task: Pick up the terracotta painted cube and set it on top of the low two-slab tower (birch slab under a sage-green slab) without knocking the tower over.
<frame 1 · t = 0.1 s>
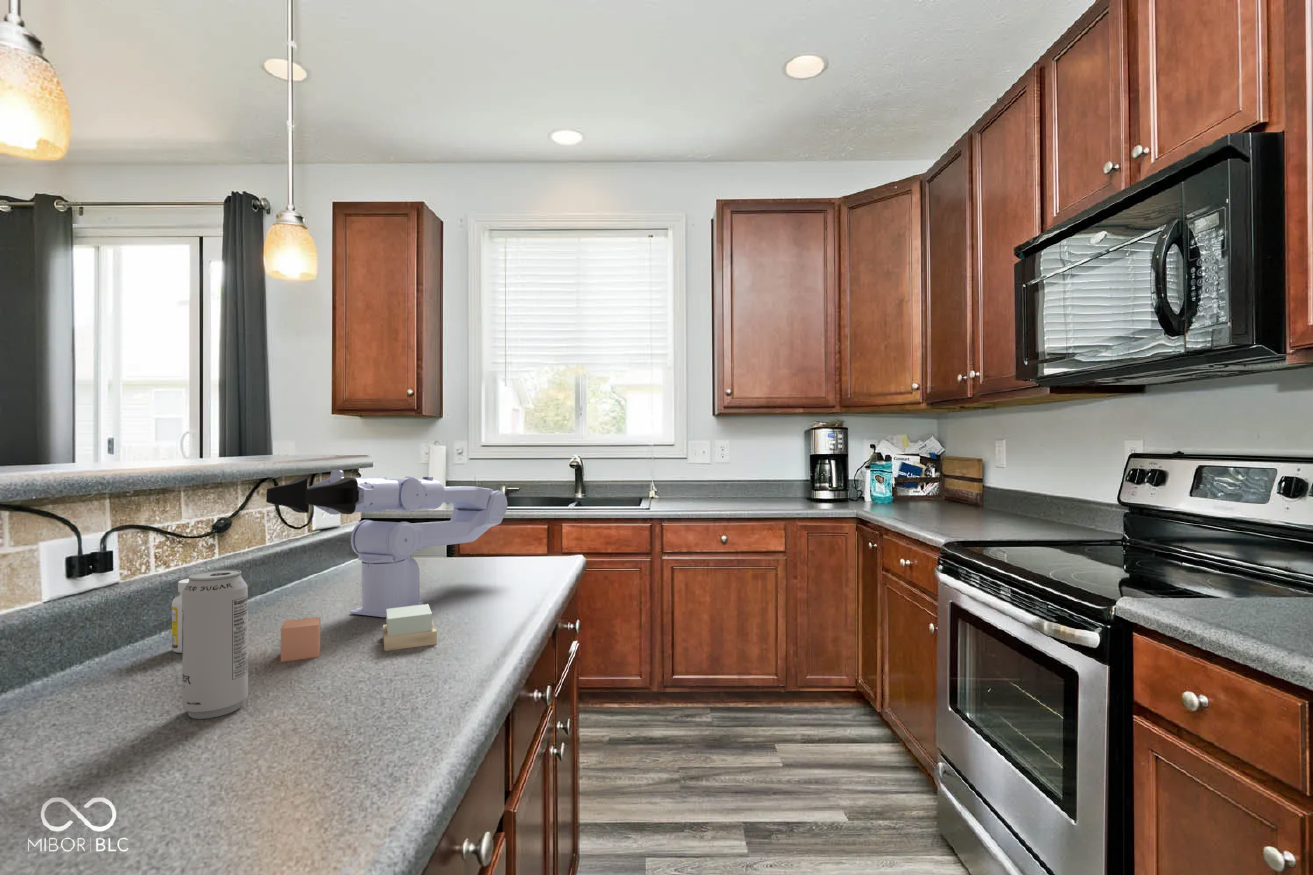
hand: (287, 495, 95), 22 cm above the countertop, tool horizontal, fingers open, 7 cm apart
tower base: (409, 644, 96), on the countertop, touching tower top
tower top: (409, 627, 96), point 2 cm above the countertop, touching tower base
terracotta cube: (301, 654, 90), on the countertop
energy drink can: (215, 710, 72), on the countertop
supplement bottle: (195, 649, 93), on the countertop
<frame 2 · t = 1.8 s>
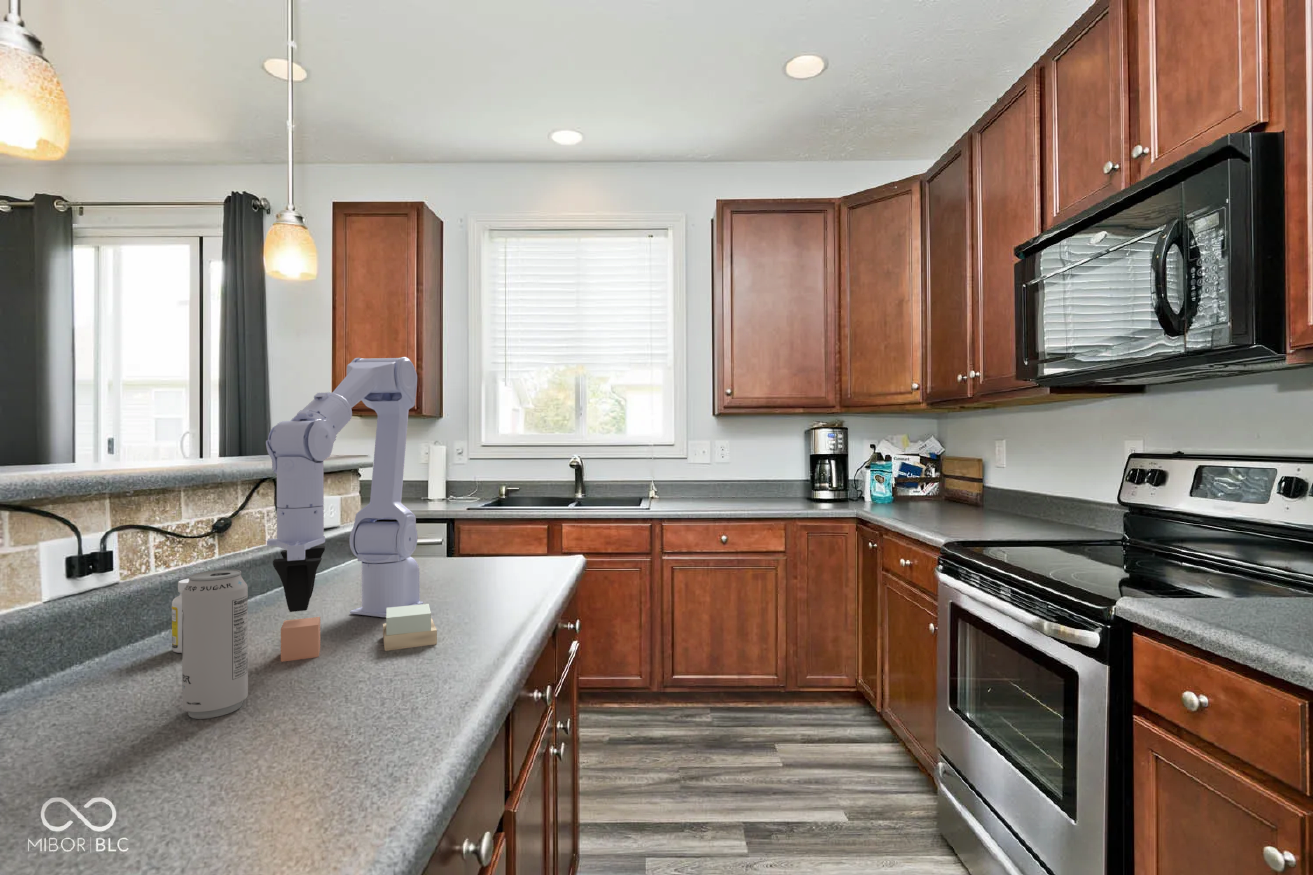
hand: (300, 604, 90), 7 cm above the countertop, tool pointing down, fingers open, 7 cm apart
tower base: (409, 643, 96), on the countertop
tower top: (408, 627, 96), point 2 cm above the countertop
everything else where it was.
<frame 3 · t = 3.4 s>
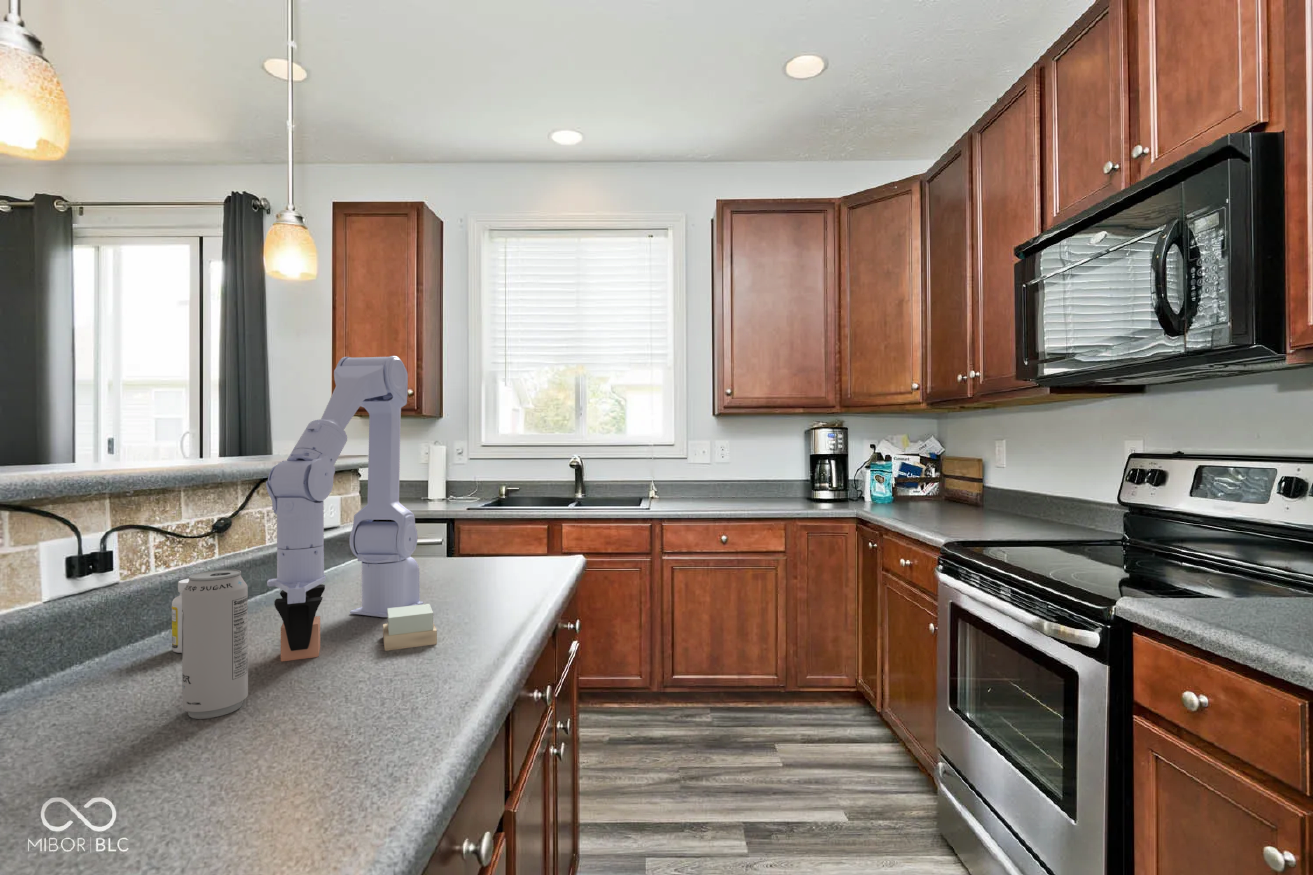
hand: (301, 643, 90), 1 cm above the countertop, tool pointing down, fingers closed on terracotta cube, 4 cm apart
tower base: (409, 643, 96), on the countertop, touching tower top
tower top: (410, 627, 96), point 2 cm above the countertop, touching tower base
terracotta cube: (301, 654, 90), on the countertop, touching gripper
everything else where it was.
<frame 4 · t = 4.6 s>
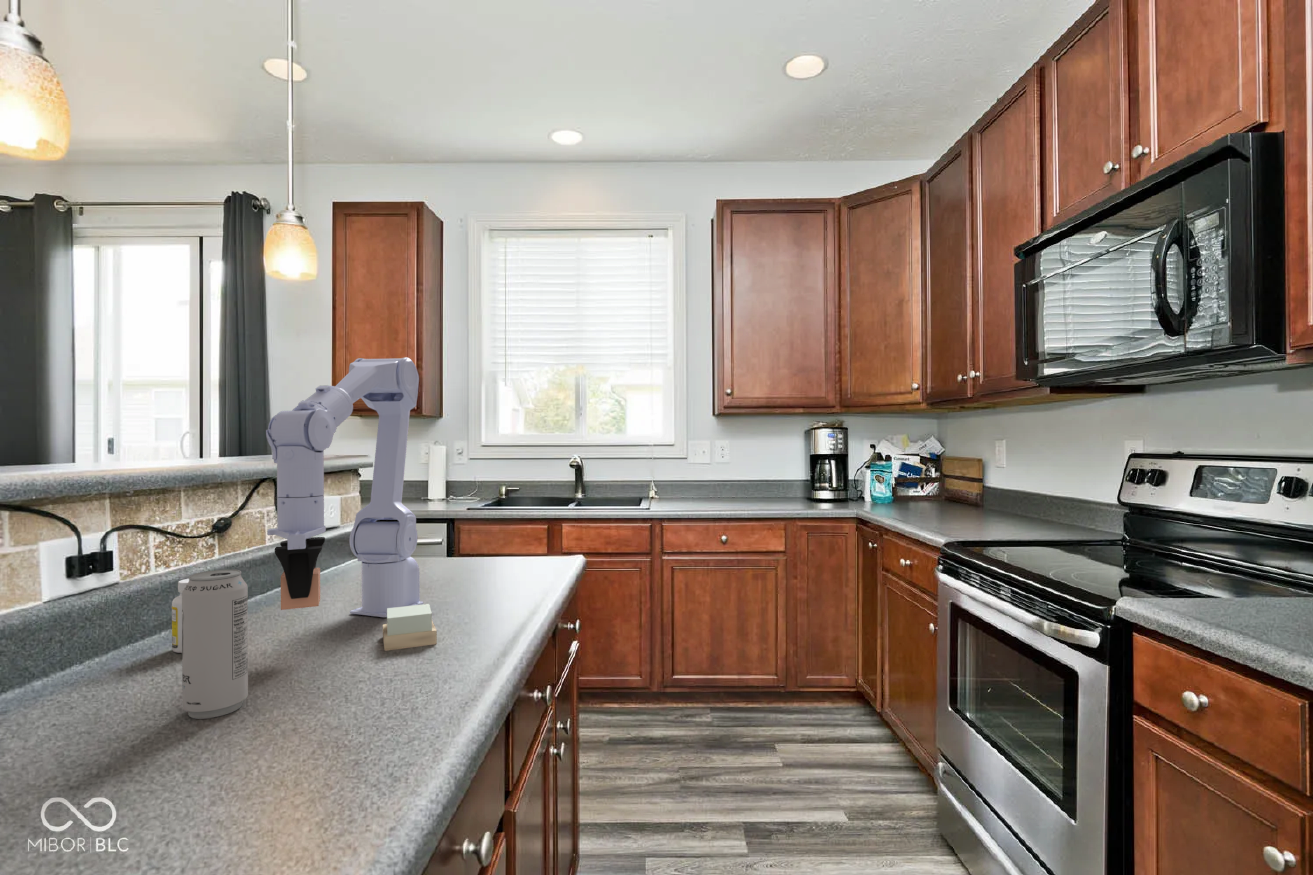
hand: (301, 593, 90), 8 cm above the countertop, tool pointing down, fingers closed on terracotta cube, 4 cm apart
terracotta cube: (301, 604, 90), point 7 cm above the countertop, touching gripper
everything else where it was.
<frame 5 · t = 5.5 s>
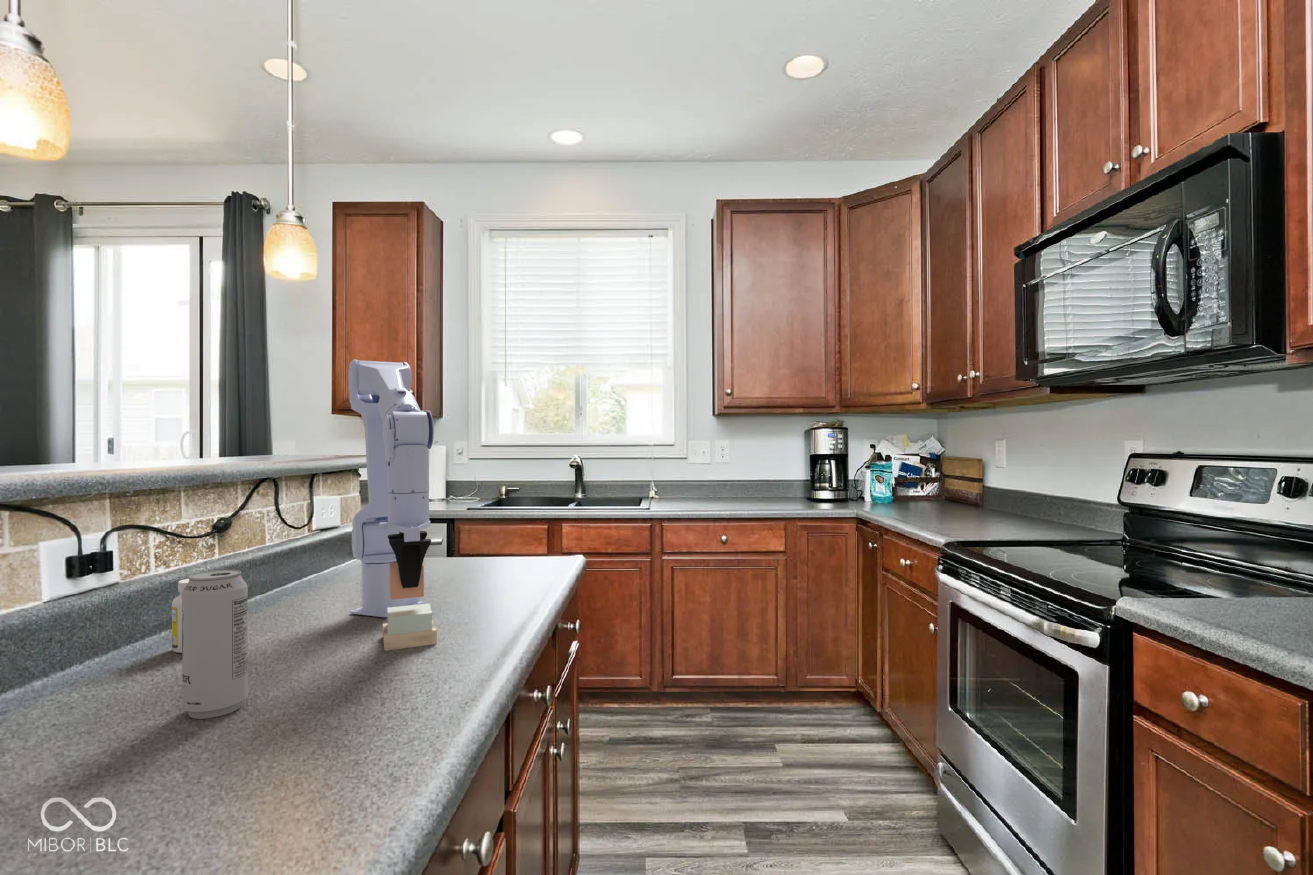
hand: (409, 583, 96), 8 cm above the countertop, tool pointing down, fingers closed on terracotta cube, 4 cm apart
terracotta cube: (406, 594, 96), point 7 cm above the countertop, touching gripper
everything else where it was.
when the fingers open (7 cm above the countertop, at t = 6.7 s): terracotta cube drops 1 cm, resting on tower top.
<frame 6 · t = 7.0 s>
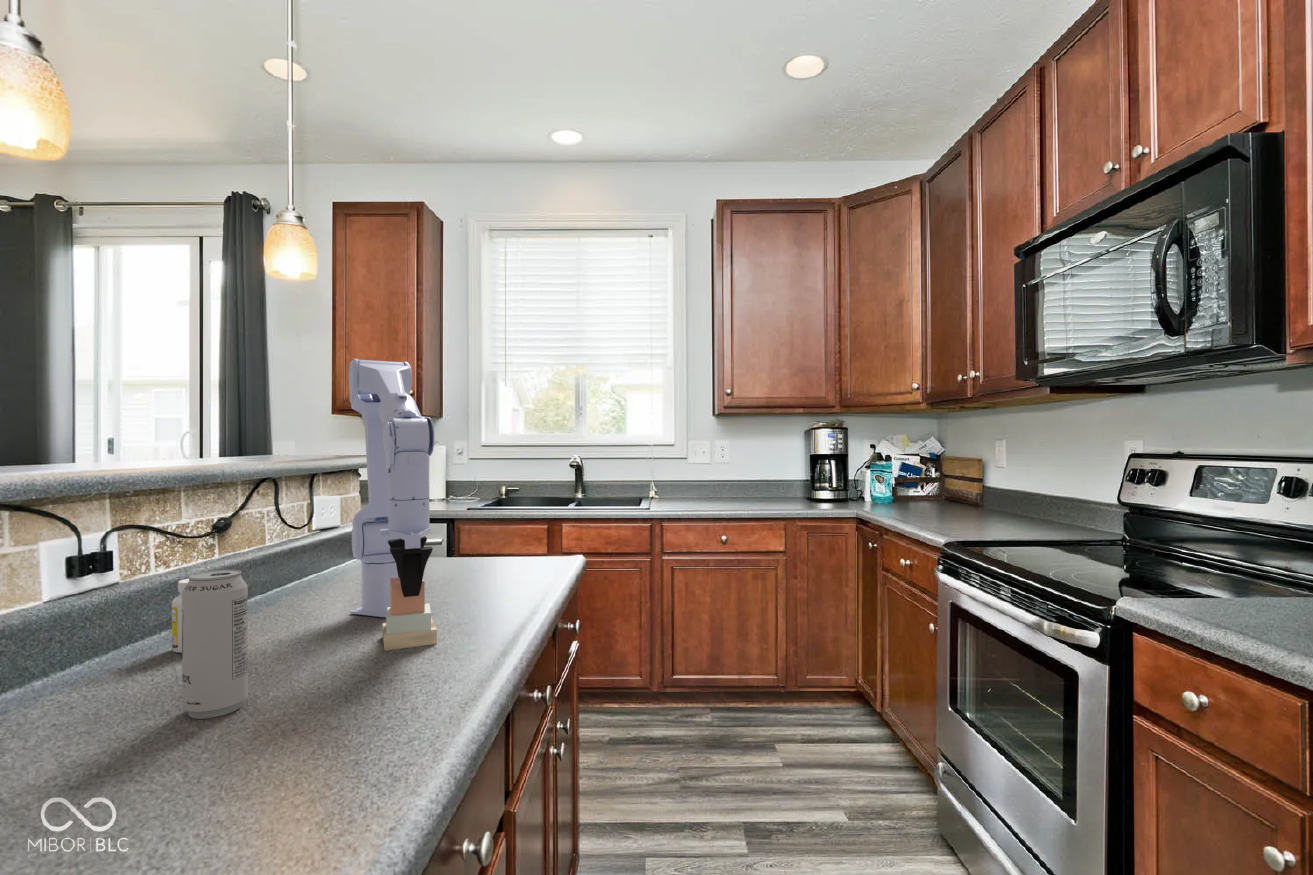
hand: (409, 590, 96), 7 cm above the countertop, tool pointing down, fingers open, 7 cm apart
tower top: (408, 626, 96), point 2 cm above the countertop, touching terracotta cube, tower base
terracotta cube: (407, 610, 96), point 5 cm above the countertop, touching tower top
everything else where it was.
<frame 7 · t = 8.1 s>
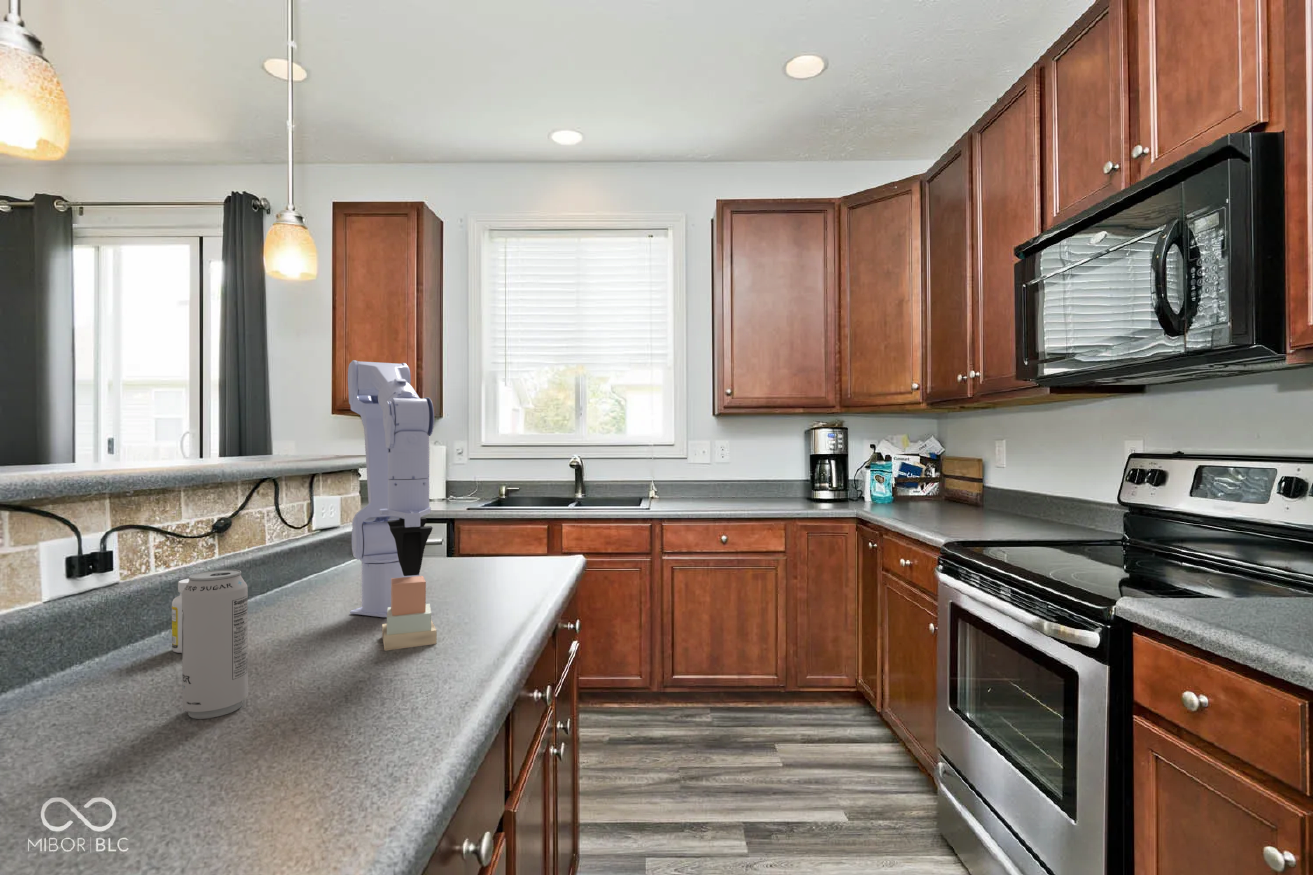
hand: (409, 570, 96), 10 cm above the countertop, tool pointing down, fingers open, 7 cm apart
nothing on the countertop moved.
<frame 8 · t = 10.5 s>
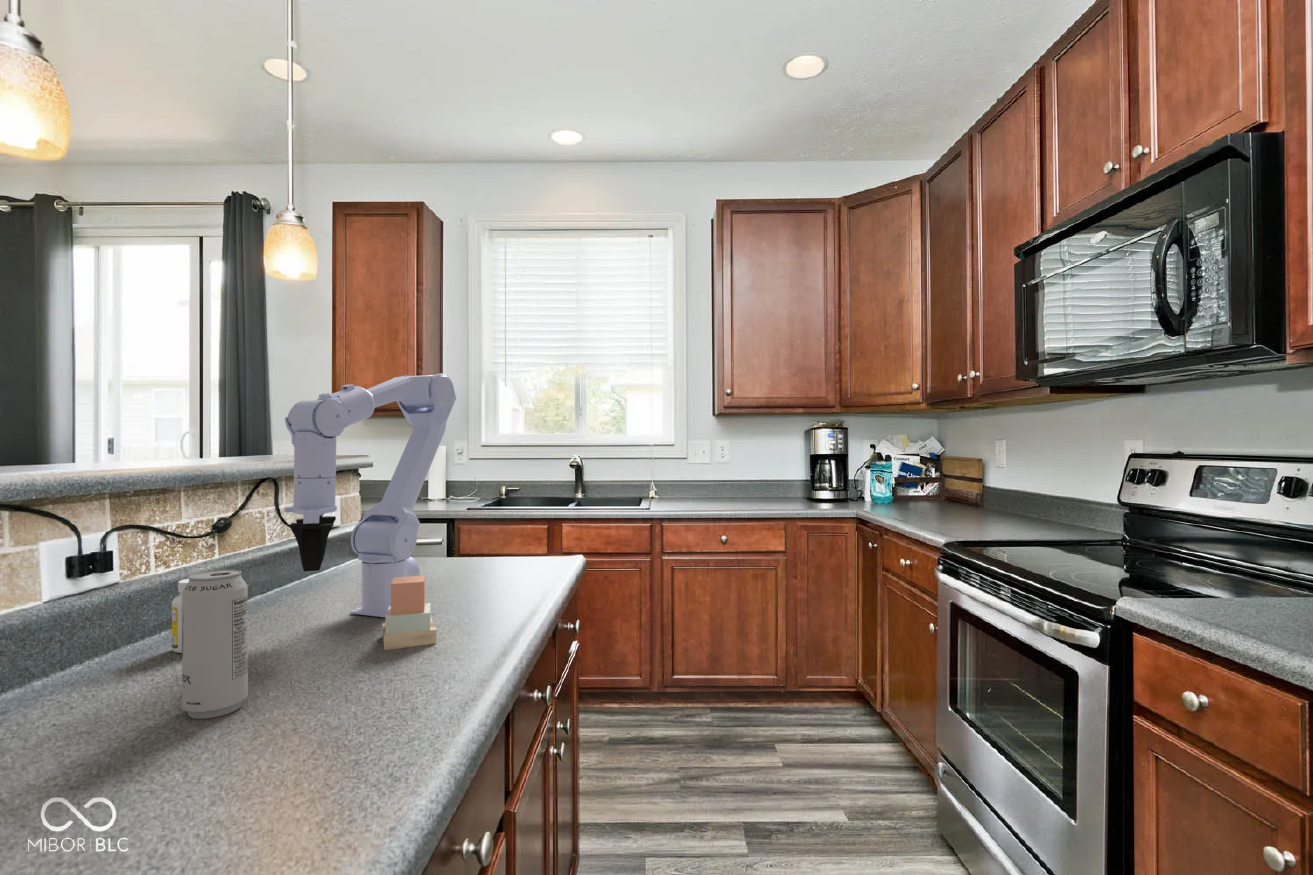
hand: (313, 566, 99), 10 cm above the countertop, tool pointing down, fingers open, 7 cm apart
nothing on the countertop moved.
at the end: terracotta cube 0.1 cm off-centre on the tower base, point 5.0 cm above the tower base's base; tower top 0.0 cm off-centre on the tower base, point 2.5 cm above the tower base's base; tower base moved 0.8 cm from its start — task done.
